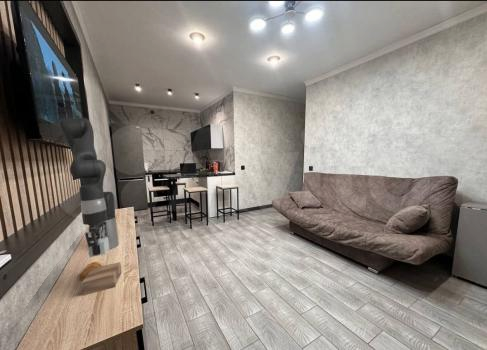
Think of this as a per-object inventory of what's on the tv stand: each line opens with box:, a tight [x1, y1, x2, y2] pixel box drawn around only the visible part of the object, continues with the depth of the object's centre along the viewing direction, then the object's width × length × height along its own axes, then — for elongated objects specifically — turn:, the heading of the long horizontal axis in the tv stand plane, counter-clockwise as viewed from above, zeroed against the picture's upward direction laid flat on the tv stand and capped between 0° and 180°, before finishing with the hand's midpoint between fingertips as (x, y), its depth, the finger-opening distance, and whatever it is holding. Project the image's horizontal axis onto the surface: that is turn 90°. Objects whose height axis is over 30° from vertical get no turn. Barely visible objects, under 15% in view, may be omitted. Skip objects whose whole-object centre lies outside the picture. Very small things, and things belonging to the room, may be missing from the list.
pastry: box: [80, 261, 103, 281], centre depth 80 cm, size 9×7×4 cm
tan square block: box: [81, 261, 122, 296], centre depth 73 cm, size 10×10×5 cm
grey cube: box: [87, 237, 110, 258], centre depth 72 cm, size 5×5×5 cm
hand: (99, 251), depth 72 cm, fingers closed on grey cube, 5 cm apart
